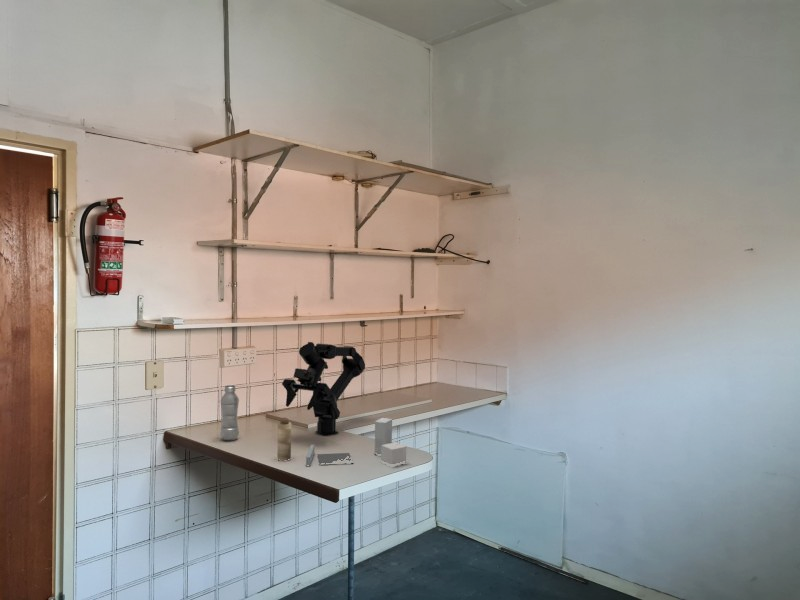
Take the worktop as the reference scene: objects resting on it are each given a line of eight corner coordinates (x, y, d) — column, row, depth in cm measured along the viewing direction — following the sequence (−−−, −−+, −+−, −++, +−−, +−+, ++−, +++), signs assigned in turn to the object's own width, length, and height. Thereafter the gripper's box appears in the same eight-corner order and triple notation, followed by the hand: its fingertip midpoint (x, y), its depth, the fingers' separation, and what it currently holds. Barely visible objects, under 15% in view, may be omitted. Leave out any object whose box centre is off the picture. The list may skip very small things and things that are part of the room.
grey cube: (391, 467, 189) (392, 449, 189) (380, 463, 194) (381, 445, 194) (406, 464, 193) (406, 446, 193) (394, 459, 198) (395, 442, 198)
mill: (286, 456, 198) (287, 415, 198) (293, 459, 195) (293, 417, 195) (274, 458, 196) (275, 417, 195) (281, 461, 192) (282, 419, 192)
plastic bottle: (240, 440, 215) (241, 387, 214) (222, 443, 212) (222, 388, 211) (236, 436, 221) (237, 384, 220) (218, 438, 217) (218, 385, 217)
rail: (310, 453, 202) (311, 444, 202) (314, 453, 202) (314, 444, 202) (306, 466, 188) (306, 457, 188) (309, 466, 188) (309, 457, 188)
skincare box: (380, 450, 207) (381, 417, 207) (391, 452, 206) (392, 418, 205) (373, 455, 202) (374, 421, 201) (385, 457, 200) (386, 422, 200)
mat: (317, 455, 200) (317, 454, 200) (349, 453, 203) (349, 452, 202) (319, 465, 189) (319, 464, 189) (353, 464, 192) (353, 462, 192)
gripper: (284, 357, 218) (266, 392, 209) (326, 361, 210) (309, 398, 201) (297, 374, 225) (279, 409, 216) (338, 379, 217) (322, 415, 208)
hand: (297, 407), depth 210 cm, fingers open, 9 cm apart
